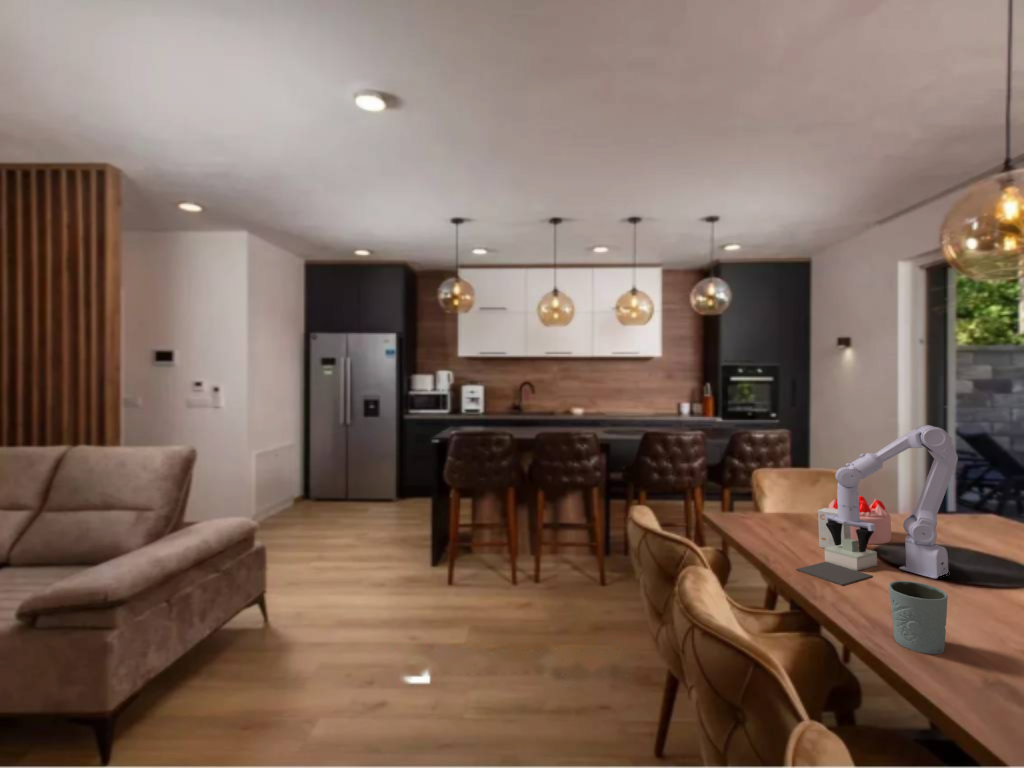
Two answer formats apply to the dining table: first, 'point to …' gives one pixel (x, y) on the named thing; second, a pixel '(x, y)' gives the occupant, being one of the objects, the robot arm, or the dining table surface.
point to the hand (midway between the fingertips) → (850, 548)
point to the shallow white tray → (851, 561)
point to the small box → (824, 532)
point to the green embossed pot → (919, 616)
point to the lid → (850, 549)
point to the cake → (871, 520)
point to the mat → (834, 573)
